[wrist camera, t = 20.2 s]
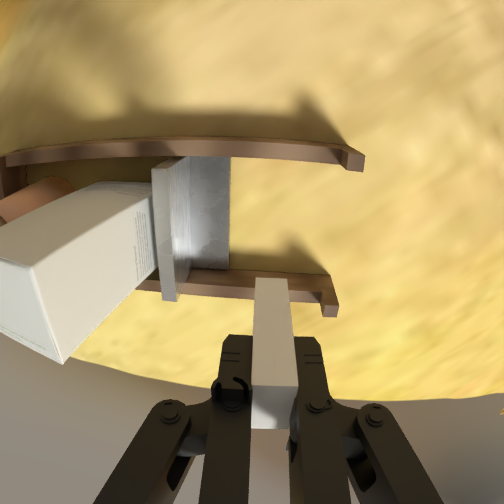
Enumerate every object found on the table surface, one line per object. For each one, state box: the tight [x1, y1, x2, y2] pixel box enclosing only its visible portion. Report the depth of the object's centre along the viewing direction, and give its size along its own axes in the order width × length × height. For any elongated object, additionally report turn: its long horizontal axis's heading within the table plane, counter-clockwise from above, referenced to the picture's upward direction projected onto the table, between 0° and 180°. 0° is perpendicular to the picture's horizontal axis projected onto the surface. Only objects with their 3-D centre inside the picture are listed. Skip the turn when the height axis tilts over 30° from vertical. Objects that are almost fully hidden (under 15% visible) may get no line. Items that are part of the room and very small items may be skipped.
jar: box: [0, 176, 75, 227], centre depth 23 cm, size 7×7×11 cm
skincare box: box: [0, 181, 158, 364], centre depth 20 cm, size 8×7×16 cm
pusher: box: [151, 156, 231, 302], centre depth 25 cm, size 5×10×6 cm, turn 178°
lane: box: [0, 136, 365, 317], centre depth 26 cm, size 33×13×5 cm, turn 88°
